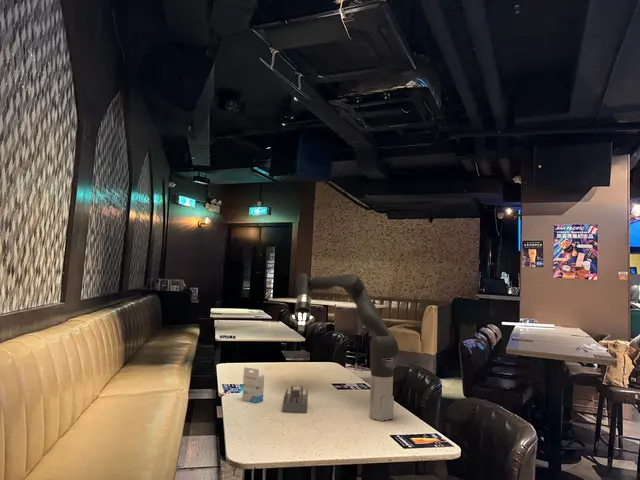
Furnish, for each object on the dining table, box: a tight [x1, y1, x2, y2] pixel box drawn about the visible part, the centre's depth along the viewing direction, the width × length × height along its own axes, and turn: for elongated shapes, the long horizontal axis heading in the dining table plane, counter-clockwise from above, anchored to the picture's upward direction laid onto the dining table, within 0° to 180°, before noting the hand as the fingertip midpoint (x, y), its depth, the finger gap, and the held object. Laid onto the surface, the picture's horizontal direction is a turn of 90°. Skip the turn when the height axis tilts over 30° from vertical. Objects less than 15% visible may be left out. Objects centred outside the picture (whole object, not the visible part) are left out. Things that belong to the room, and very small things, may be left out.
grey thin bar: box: [293, 386, 301, 391], centre depth 202 cm, size 1×3×11 cm
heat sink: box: [282, 385, 309, 414], centre depth 201 cm, size 15×10×9 cm, turn 0°
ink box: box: [241, 366, 265, 404], centre depth 209 cm, size 9×5×15 cm, turn 62°
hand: (301, 332), depth 222 cm, fingers closed
